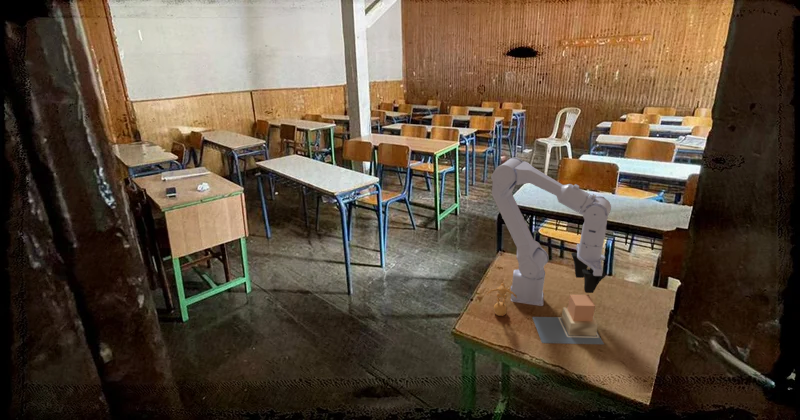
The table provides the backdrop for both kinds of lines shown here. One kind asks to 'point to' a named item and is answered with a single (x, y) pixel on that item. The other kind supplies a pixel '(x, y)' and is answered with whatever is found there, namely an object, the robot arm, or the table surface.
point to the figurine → (499, 307)
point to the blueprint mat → (560, 332)
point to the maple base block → (578, 325)
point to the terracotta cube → (581, 307)
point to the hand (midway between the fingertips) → (584, 284)
